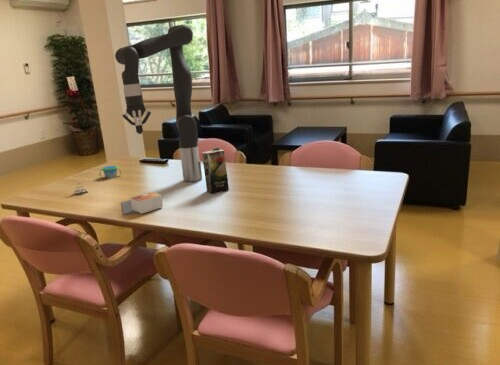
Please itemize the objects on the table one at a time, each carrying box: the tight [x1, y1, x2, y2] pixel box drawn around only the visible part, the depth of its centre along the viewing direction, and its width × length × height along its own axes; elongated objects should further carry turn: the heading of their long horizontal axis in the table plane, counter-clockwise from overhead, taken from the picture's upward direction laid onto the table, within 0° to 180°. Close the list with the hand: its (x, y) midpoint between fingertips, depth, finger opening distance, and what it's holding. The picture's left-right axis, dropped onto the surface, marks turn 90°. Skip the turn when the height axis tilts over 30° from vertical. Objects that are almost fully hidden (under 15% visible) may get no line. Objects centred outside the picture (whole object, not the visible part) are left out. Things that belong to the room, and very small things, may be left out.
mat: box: [121, 200, 139, 216], centre depth 178 cm, size 13×18×1 cm
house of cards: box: [72, 181, 87, 196], centre depth 198 cm, size 9×9×8 cm
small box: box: [130, 191, 164, 215], centre depth 171 cm, size 8×6×10 cm
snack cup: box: [99, 165, 122, 179], centre depth 226 cm, size 11×8×7 cm
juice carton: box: [201, 147, 230, 195], centre depth 189 cm, size 20×10×6 cm
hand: (140, 133), depth 183 cm, fingers closed
